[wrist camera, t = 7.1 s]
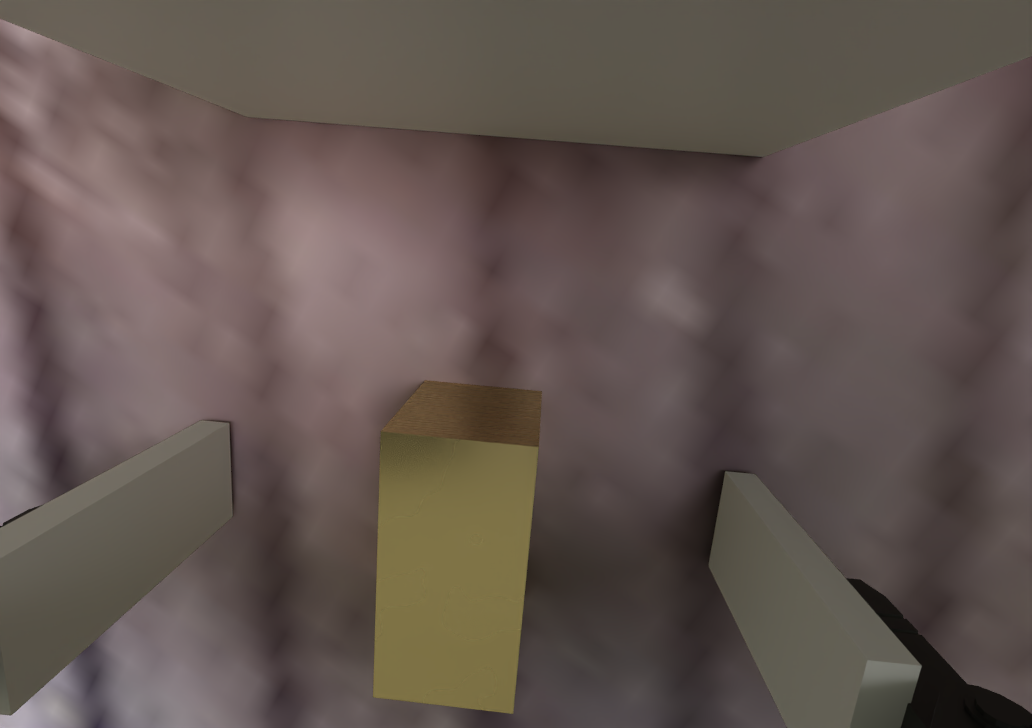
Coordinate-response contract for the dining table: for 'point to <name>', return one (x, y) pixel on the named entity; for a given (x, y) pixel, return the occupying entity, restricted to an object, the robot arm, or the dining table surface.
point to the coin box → (553, 61)
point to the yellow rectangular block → (454, 544)
